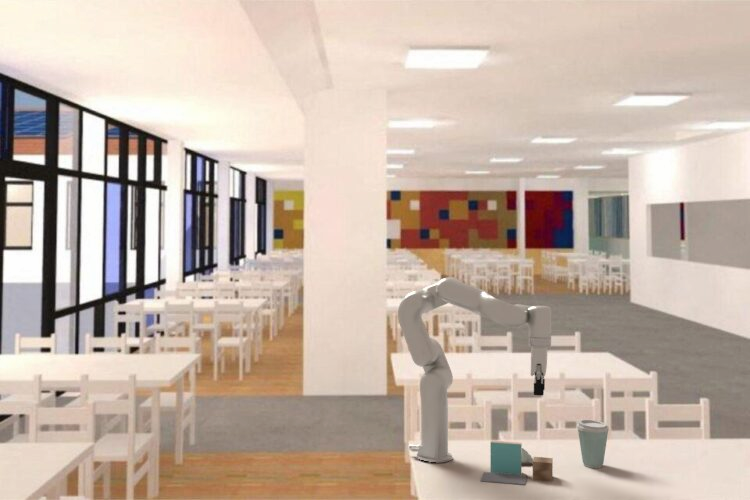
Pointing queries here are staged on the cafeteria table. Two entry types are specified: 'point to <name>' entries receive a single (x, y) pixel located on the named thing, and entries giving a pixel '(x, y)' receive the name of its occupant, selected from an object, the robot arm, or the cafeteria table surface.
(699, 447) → the cafeteria table surface
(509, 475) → the mat
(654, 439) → the cafeteria table surface
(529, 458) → the stone slab
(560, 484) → the cafeteria table surface
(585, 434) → the disposable coffee cup
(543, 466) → the walnut block
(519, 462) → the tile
